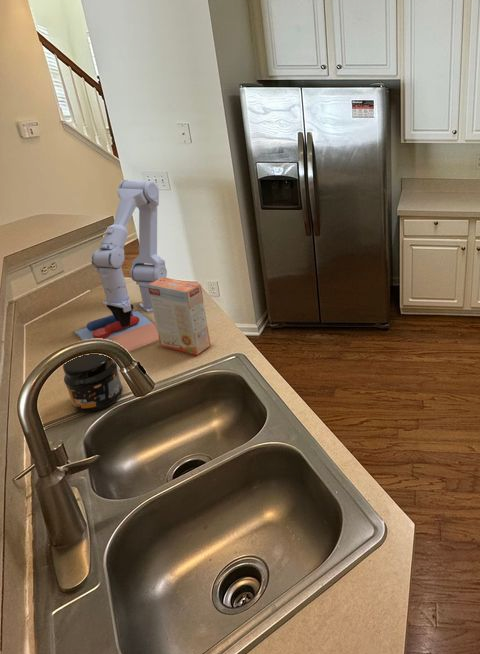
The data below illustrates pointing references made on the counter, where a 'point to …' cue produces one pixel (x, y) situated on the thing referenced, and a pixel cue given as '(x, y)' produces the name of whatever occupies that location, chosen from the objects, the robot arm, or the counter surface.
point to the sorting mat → (129, 333)
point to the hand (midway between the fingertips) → (124, 324)
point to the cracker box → (179, 315)
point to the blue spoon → (102, 322)
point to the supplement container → (92, 382)
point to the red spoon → (113, 328)
